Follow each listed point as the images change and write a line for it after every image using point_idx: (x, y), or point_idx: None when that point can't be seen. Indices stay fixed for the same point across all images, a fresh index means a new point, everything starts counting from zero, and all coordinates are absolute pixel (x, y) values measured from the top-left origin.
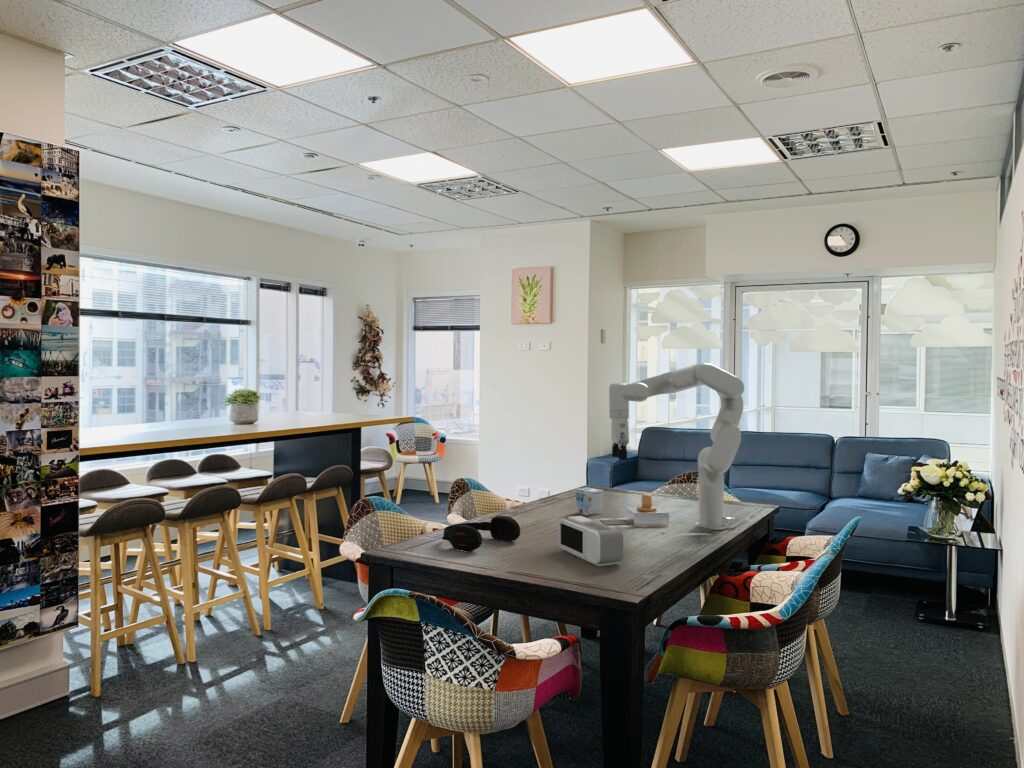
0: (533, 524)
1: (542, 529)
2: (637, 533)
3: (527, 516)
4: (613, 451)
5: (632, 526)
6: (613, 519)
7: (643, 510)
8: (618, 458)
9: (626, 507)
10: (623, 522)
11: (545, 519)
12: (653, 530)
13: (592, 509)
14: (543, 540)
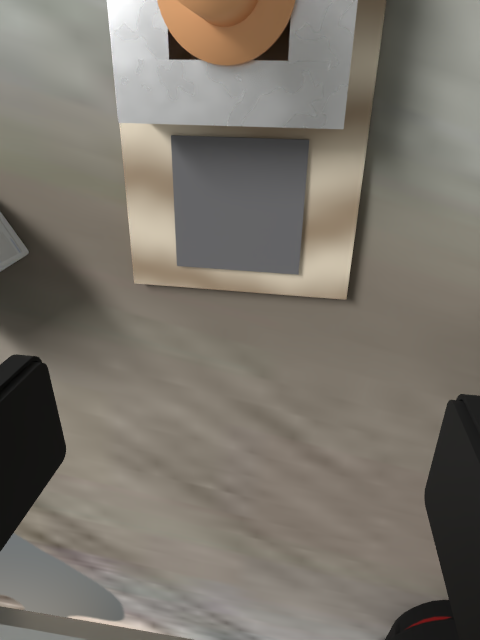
0: (195, 491)
1: (286, 489)
2: (466, 143)
3: None
4: (18, 515)
5: (350, 138)
6: (175, 196)
7: (281, 32)
8: (433, 513)
9: (134, 118)
10: (260, 166)
11: (103, 436)
12: (413, 12)
13: (7, 260)
14: None
